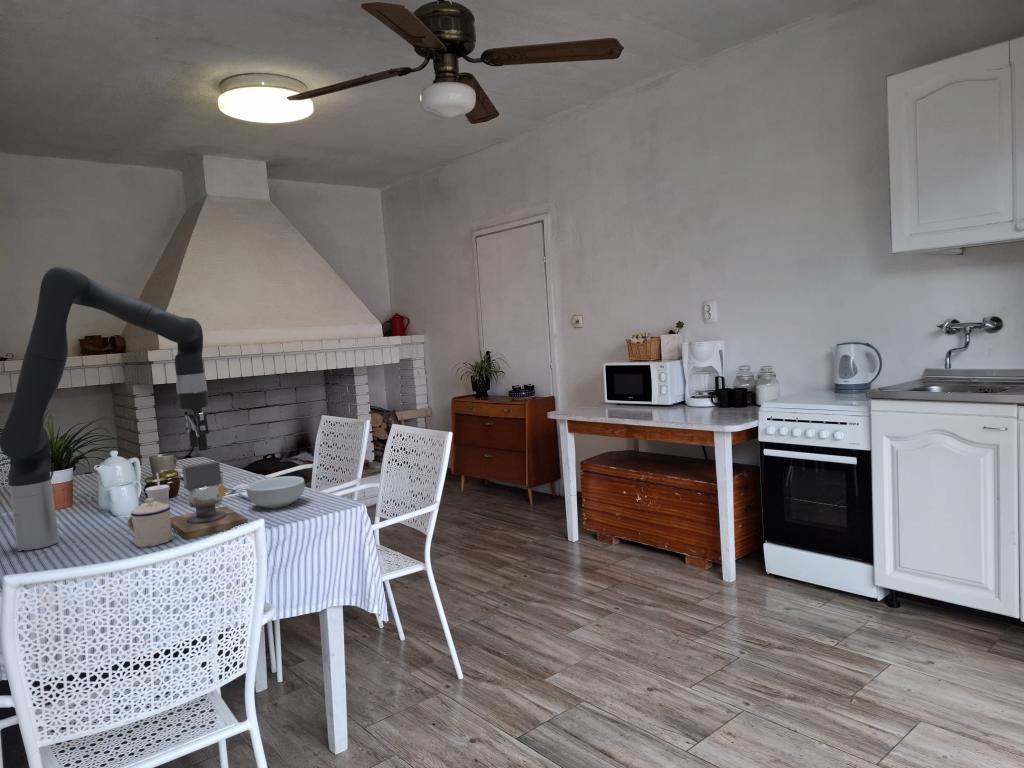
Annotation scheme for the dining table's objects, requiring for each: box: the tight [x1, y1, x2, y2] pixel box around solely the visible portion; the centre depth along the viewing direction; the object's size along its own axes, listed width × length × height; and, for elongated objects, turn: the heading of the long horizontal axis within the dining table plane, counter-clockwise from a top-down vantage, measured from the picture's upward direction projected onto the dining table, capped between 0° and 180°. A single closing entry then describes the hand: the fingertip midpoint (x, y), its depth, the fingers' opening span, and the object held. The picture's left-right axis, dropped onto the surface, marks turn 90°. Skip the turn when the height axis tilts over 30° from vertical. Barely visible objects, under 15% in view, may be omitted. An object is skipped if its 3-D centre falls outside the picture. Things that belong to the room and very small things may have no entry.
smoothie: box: [145, 472, 171, 505], centre depth 203 cm, size 6×6×14 cm
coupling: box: [181, 460, 226, 508], centre depth 193 cm, size 10×8×11 cm
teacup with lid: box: [126, 497, 173, 548], centre depth 181 cm, size 12×9×12 cm
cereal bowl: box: [245, 475, 306, 509], centre depth 212 cm, size 17×17×7 cm
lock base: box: [170, 504, 249, 540], centre depth 194 cm, size 16×20×6 cm
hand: (198, 448), depth 192 cm, fingers open, 8 cm apart
